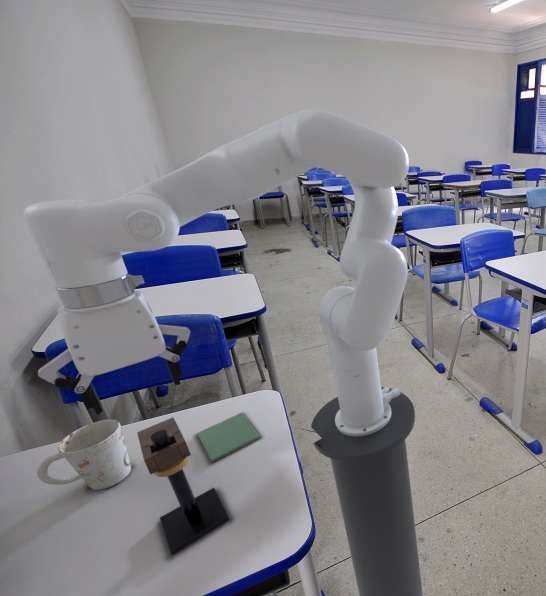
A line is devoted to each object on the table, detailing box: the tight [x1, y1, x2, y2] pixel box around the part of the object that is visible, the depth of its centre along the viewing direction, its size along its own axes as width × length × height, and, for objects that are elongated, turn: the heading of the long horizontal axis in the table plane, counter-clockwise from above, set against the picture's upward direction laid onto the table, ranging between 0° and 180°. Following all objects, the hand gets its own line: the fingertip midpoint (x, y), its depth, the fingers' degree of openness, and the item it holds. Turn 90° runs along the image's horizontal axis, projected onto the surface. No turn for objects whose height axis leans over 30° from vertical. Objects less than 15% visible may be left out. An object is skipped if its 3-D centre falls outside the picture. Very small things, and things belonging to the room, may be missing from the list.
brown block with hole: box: [137, 416, 192, 475], centre depth 59 cm, size 12×5×2 cm, turn 45°
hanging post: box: [151, 430, 230, 556], centre depth 58 cm, size 8×8×18 cm
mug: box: [36, 419, 132, 491], centre depth 68 cm, size 8×13×10 cm, turn 124°
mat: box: [196, 412, 261, 463], centre depth 79 cm, size 9×11×1 cm
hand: (139, 394), depth 58 cm, fingers open, 9 cm apart
